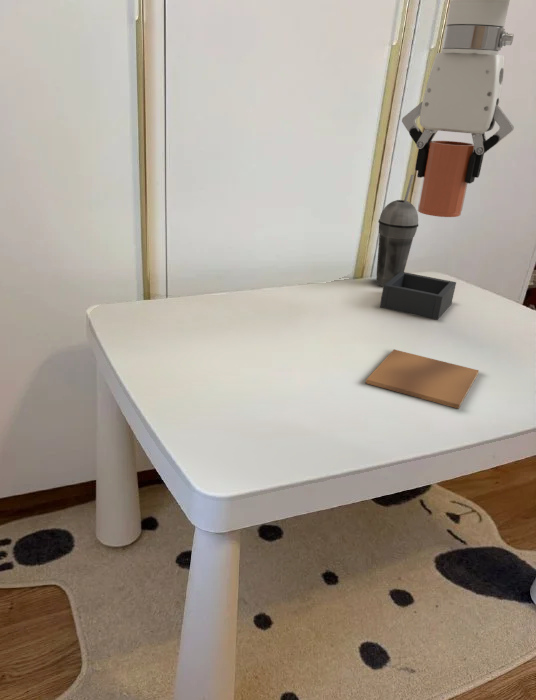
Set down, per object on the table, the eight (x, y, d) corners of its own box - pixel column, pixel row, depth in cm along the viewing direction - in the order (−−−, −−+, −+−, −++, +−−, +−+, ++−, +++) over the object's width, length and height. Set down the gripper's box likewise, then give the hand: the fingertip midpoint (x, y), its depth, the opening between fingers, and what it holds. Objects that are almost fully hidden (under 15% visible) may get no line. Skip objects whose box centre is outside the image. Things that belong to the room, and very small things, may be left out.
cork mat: (478, 374, 87) (479, 370, 86) (458, 409, 77) (459, 404, 77) (393, 352, 92) (393, 349, 91) (365, 383, 82) (366, 379, 82)
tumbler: (464, 212, 98) (479, 143, 94) (455, 219, 93) (469, 146, 89) (424, 206, 101) (436, 139, 96) (412, 212, 96) (424, 142, 92)
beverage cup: (362, 278, 123) (378, 171, 114) (396, 277, 125) (415, 171, 116) (378, 290, 117) (397, 177, 108) (414, 289, 119) (435, 178, 110)
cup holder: (451, 303, 113) (456, 282, 111) (437, 320, 105) (442, 297, 103) (397, 292, 117) (400, 271, 115) (379, 307, 109) (383, 284, 107)
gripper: (542, 46, 86) (509, 183, 94) (417, 42, 93) (397, 170, 102) (535, 43, 80) (500, 189, 88) (401, 39, 87) (381, 175, 96)
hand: (445, 178), depth 95 cm, fingers closed on tumbler, 6 cm apart
